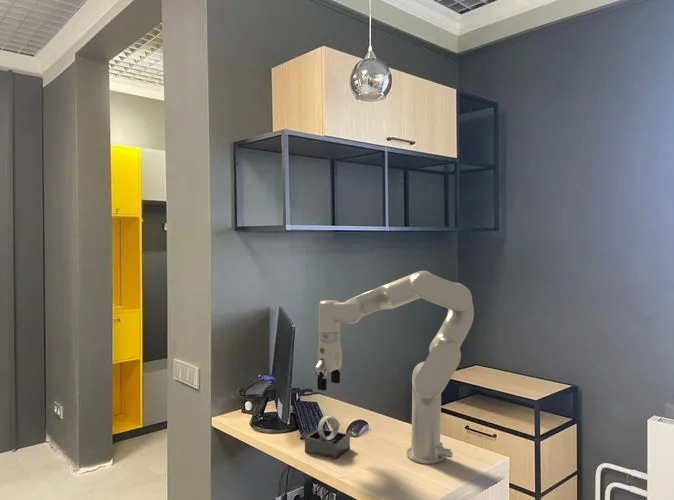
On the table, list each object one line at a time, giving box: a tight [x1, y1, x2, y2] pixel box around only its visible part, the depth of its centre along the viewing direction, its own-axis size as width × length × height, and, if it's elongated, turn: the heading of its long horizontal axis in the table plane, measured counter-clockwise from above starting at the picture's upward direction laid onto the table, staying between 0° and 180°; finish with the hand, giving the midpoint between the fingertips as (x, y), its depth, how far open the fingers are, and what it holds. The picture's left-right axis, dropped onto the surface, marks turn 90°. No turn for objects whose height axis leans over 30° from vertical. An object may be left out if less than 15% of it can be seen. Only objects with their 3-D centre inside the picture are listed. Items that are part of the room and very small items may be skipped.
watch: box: [317, 414, 341, 443], centre depth 176 cm, size 6×8×11 cm
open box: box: [304, 428, 351, 460], centre depth 177 cm, size 12×10×5 cm
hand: (328, 386), depth 176 cm, fingers open, 9 cm apart
